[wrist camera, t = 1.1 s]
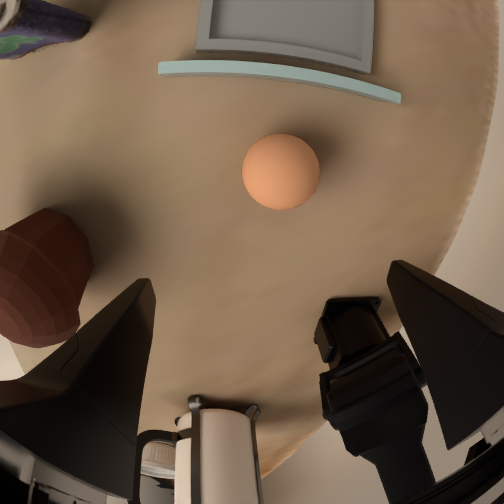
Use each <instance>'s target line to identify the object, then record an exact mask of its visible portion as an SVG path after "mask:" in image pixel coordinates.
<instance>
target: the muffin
mask: <svg viewBox="0 0 504 504" xmlns="http://www.w3.org/2000/svg"><path fill="white" fill-rule="evenodd" d="M93 266H94V263H93V260H92V257H91V254H90V251H89V245H88V238H87V237H86V236H85V235H84V234H83V233H82V232H81V231H80V230H79V229H78V228H77V227H76V226H75V224H74V223H73V222H72V220H71V219H70V218H69V216H67V215H63V214H58V213H55V212H52V211H50V210H48V209H46V208H44V209H42V210H40V211H38V212H36V213H34V214H32V215H30V216H28V217H27V218H25V219H23V220H21V221H19V222H17V223H15V224H14V225H12V226H10V227H8V228H6V229H5V230H1V231H0V334H1V335H2V336H4V337H6V338H7V339H9V340H10V341H12V342H14V343H17V344H21V345H25V346H29V347H33V348H43V347H47V346H51V345H55V344H58V343H61V342H64V341H66V340H68V339H69V338H70V337H72V336H73V335H74V334H75V333H76V331H77V329H78V328H79V326H80V324H81V323H80V317H79V311H78V308H79V305H80V302H81V299H82V296H83V293H84V290H85V287H86V284H87V281H88V279H89V276H90V273H91V271H92V268H93Z"/></svg>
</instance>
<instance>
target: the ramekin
mask: <svg viewBox="0 0 504 504" xmlns="http://www.w3.org/2000/svg"><path fill="white" fill-rule="evenodd" d="M175 460H176V447H173V446H170V445H167V444H163V443H158V442H149V443H147V444H146V445H145V447H144V449H143V454H142V464H141V473H143V474H146V475H150V476H155V477H161V478H173V479H175Z"/></svg>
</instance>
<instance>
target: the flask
mask: <svg viewBox="0 0 504 504" xmlns="http://www.w3.org/2000/svg"><path fill="white" fill-rule="evenodd" d="M90 25H91V19H90V17H88V16H86V15H83V14H80V13H76V12H74V11H72V10H70V9H66V8H62V7H60V6H56V5H54V4H51V3H47V2H46V1H43V0H0V59H1V60H4V59H9V60H13V59H18V58H22V57H24V55H26V54H28V53H31V52H32V53H33V52H34V53H35V52H37V51H39V52H40V51H41V50H44V49H45V48H46V47H48V46H49V45H54V46H55V45H57V44H58V43H61V42H62V43H65V44H66V43H68V42H74V41H79V40H80V39H82V38H83V36H85V35H86V34H87V33H89V32H90V31H89V29H90Z"/></svg>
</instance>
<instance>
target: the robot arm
mask: <svg viewBox="0 0 504 504" xmlns="http://www.w3.org/2000/svg"><path fill="white" fill-rule="evenodd" d="M387 285H388V287H389V290H390V293H391V295H392V298H393V301H394V304H395V307H396V309H397V312H398V315H399V317H400V319H401V322H402V324H403V326H404V328H405V331H406V333H407V335H408V337H409V340H410V342H411V345H412V347H413V349H414V351H415V354H416V357H417V359H418V361H417V359H416V358H415V356H414V354H413V353H412V351H411V350H410V348H409V346H408V345H407V343H406V342H405V340H404V339H403V337H402V336H401V334H400V332H399V331H398V332H396V333H395V334H394V335H393V336H391V337H390V336H389V334H388V332H387V330H386V328H385V327H384V325H383V323H382V321H381V319H380V318H379V316H378V314H377V310H378V308H379V305H380V303H381V300H380V299H379V297H371V298H351V299H330V300H328V301H327V302H326V304H325V307H324V310H323V313H322V316H321V318H320V319H319V321H318V324H317V327H316V330H315V333H314V335H315V337H314V343H315V344H318V348H319V351H320V354H321V357H322V360H323V362H324V363H328V365H329V368H330V370H329V371H327V372H323V373H321V374H319V376H320V381H319V383H320V391H321V399H322V408H323V414H322V415H323V418H324V419H326V420H328V421H329V422H330V424H331V425H332V427H333V428H334V429H335V430H339V431H340V434H341V436H342V438H343V441H344V444H345V448H346V450H347V451H348V452H350V453H351V454H352V455H353V456H355V457H357V456H359V455H360V456H362V457H363V458H365V459H366V460H368V461H370V462H371V463H373V464H374V465H375V466H376V468H377V470H378V473H379V476H380V479H381V482H382V484H383V487H384V490H385V492H386V495H387V498H388V501H389V504H504V312H502V311H500V310H497V309H496V308H494V307H492V306H490V305H488V304H486V303H484V302H482V301H480V300H478V299H477V298H475V297H473V296H471V295H469V294H467V293H465V292H464V291H462V290H460V289H458V288H456V287H454V286H453V285H451V284H449V283H447V282H445V281H443V280H441V279H439V278H437V277H435V276H433V275H431V274H429V273H427V272H426V271H424V270H422V269H420V268H418V267H416V266H414V265H411V264H409V263H407V262H405V261H403V260H394V261H392V263H391V265H390V269H389V272H388V276H387ZM330 304H331V305H330ZM155 306H156V297H155V293H154V290H153V287H152V283H151V281H150V279H149V278H139V279H137V280H136V281H135V282H134V283H133V284H131V285H130V286H129V287H128V288H127V289H125V290H124V291H123V292H122V293H121V294H119V295H118V296H117V297H116V298H115V299H114V300H112V301H111V302H110V303H109V304H108V305H107V306H105V307H104V308H103V309H102V310H101V311H100V312H99V313H97V314H96V315H95V316H94V317H93V318H92V319H91V320H89V321H88V322H87V323H86V324H85V325H84V326H83V327H82V328H80V329H79V330H78V331H77V333H75V334H74V335H73V336H72V337H70V338H69V339H68V340H67V341H66V342H65V343H64V344H63V345H61V346H60V347H59V348H58V349H57V350H56V351H54V352H53V353H52V354H51V355H49V356H48V357H47V358H46V359H44V360H43V361H42V362H41V363H39V364H38V365H37V366H36V367H34V368H33V369H32V370H31V371H29V372H28V373H27V374H26V375H24V376H22V377H21V378H18V379H15V380H8V381H0V504H106V500H107V495H110V496H114V497H118V498H123V499H127V500H132V496H133V478H134V464H135V453H136V446H135V445H136V441H137V432H138V424H139V416H140V409H141V402H142V395H143V389H144V383H145V377H146V371H147V365H148V360H149V354H150V349H151V344H152V338H153V327H154V316H155ZM418 362H419V363H418ZM419 364H420V365H419ZM426 385H428V388H429V391H430V394H431V397H432V400H433V403H434V406H435V409H436V412H437V416H438V419H439V422H440V426H441V429H442V432H443V436H444V440H445V443H446V447H447V450H450V449H452V448H454V447H455V446H457V445H459V444H460V443H462V442H464V441H465V440H467V439H468V438H470V437H472V436H473V435H475V434H476V433H478V432H479V431H481V432H482V434H483V436H484V438H483V439H482V440H480V441H479V442H477V443H476V444H475V445H473V446H472V447H470V448H469V451H468V455H467V458H466V461H465V464H464V466H463V467H461V468H460V469H458V470H457V471H455V472H453V473H452V474H450V475H448V476H447V477H445V478H443V479H441V480H440V481H438V482H435V478H434V475H433V472H432V470H431V466H430V464H429V461H428V458H427V455H426V453H425V450H424V447H423V445H422V439H423V434H424V429H425V424H426V422H427V415H428V403H427V401H426V398H425V396H424V394H423V392H422V388H423V387H425V386H426Z"/></svg>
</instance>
